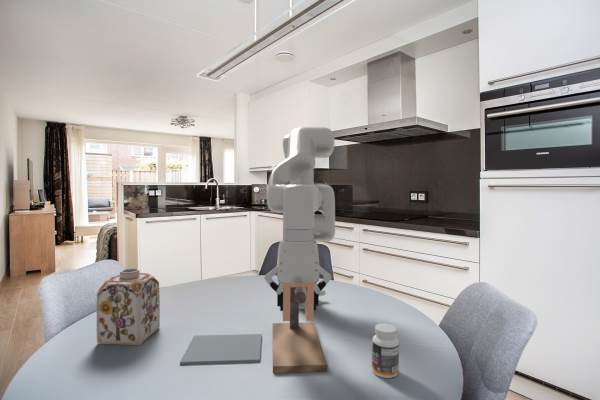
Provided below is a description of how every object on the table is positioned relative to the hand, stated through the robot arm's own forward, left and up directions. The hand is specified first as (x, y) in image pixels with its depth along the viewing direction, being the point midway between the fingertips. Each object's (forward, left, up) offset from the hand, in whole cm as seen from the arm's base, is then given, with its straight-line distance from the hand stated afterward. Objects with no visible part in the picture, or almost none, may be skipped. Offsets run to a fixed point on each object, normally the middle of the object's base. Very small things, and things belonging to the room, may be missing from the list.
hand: (297, 308), depth 81 cm
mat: (+14, -11, -11) cm, 22 cm away
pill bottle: (-13, +16, -12) cm, 24 cm away
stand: (-2, -4, -11) cm, 12 cm away
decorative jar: (+34, -32, -12) cm, 48 cm away
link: (0, 0, -2) cm, 2 cm away
